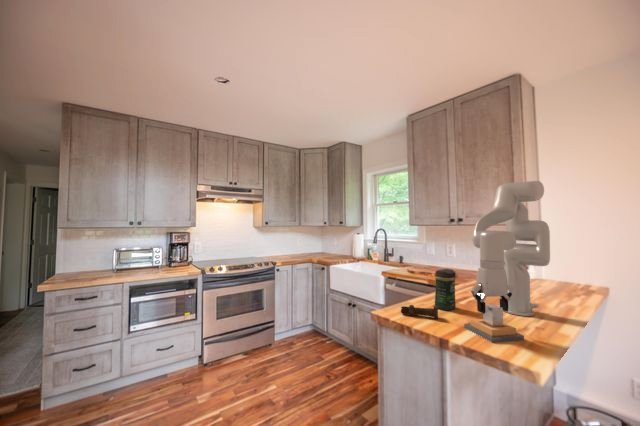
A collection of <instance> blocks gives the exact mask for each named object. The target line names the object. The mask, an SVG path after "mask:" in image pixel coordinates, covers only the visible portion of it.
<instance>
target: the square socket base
mask: <svg viewBox="0 0 640 426" xmlns="http://www.w3.org/2000/svg"><path fill="white" fill-rule="evenodd" d="M464 328H465V329H466V330H468V331H470V332H471V331H472V332H471V333H473V332H474V334H475V333H476V334H475V335H477V334H478V335H477V336H479V335H480V336H479V337H481V336H482V337H483V339H484V338H485V339H484V340H486V339H487V341H488V340H489V341H488V342H490V341H491V342H490V343H503V342H517V341H525V335H524V334H521V333H519V332H517V327H513V326H511V325H509V324H507V323H504V322H503V327H497V328H491V327H489V326H487V325H485V324H483V318H480V319H479V318H478V319H470V323H464ZM482 337H481V338H482Z"/></svg>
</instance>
